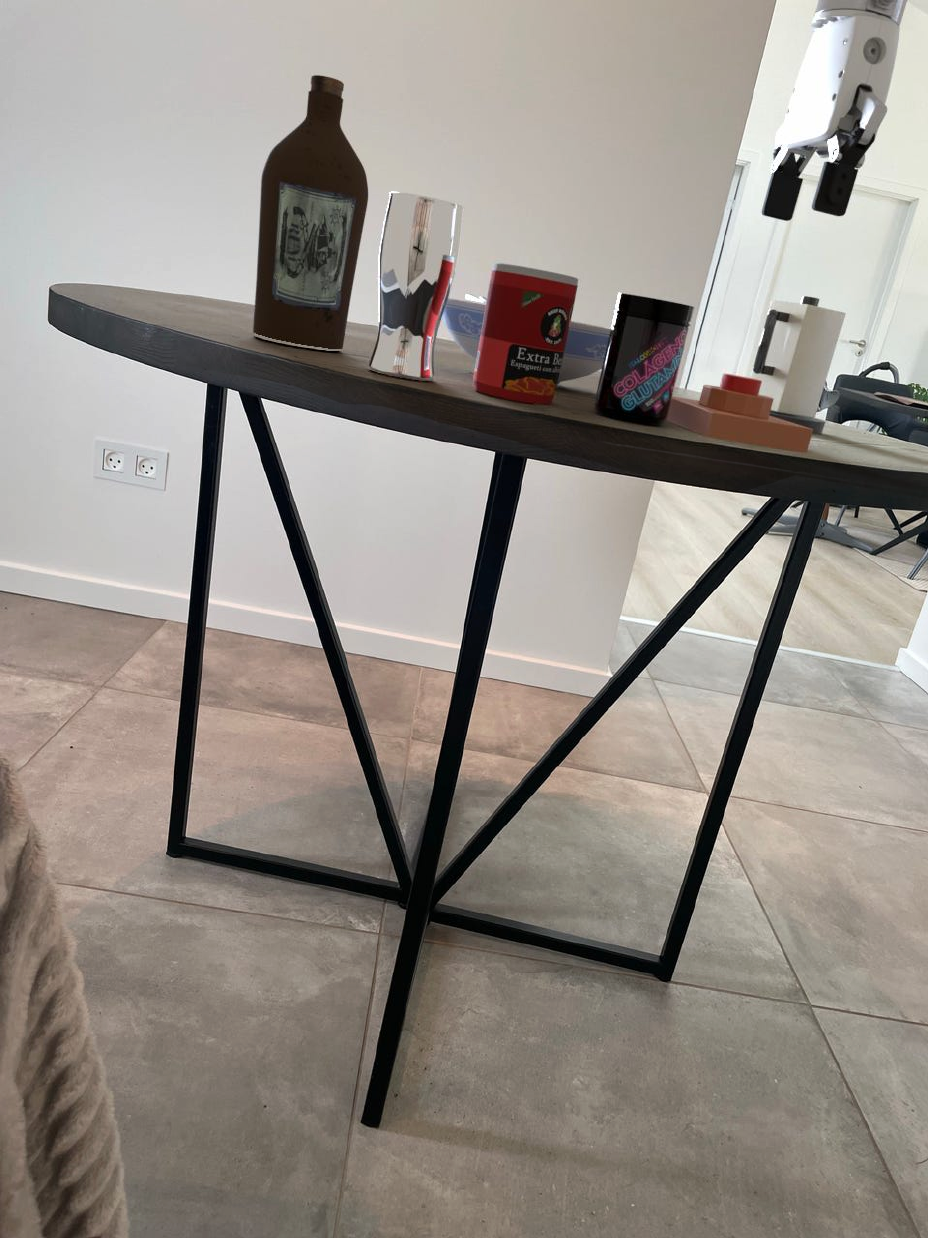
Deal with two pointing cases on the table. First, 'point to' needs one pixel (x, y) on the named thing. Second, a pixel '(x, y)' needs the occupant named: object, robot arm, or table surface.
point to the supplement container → (642, 359)
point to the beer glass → (414, 282)
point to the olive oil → (310, 227)
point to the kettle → (796, 354)
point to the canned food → (524, 333)
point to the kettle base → (801, 421)
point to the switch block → (738, 419)
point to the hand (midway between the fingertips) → (800, 215)
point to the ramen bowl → (580, 348)
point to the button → (740, 384)
